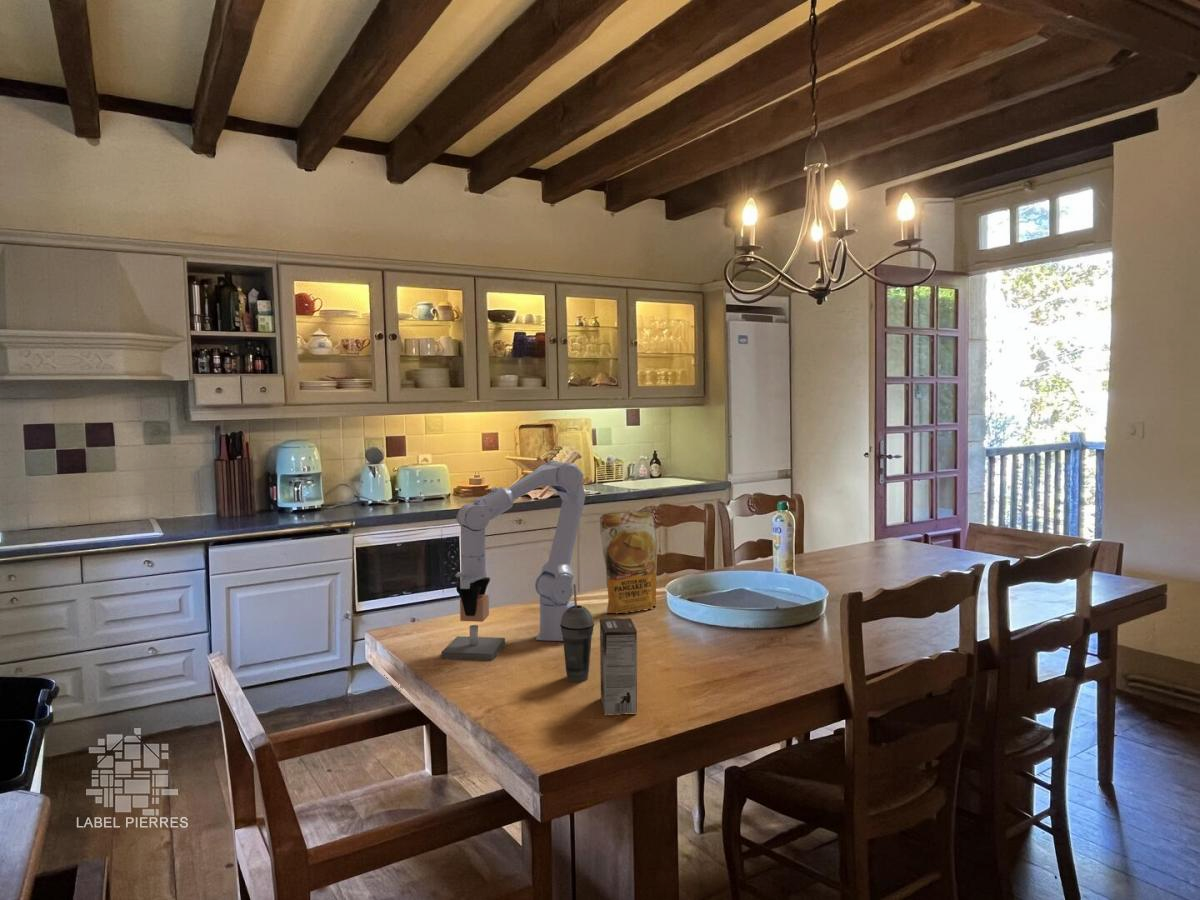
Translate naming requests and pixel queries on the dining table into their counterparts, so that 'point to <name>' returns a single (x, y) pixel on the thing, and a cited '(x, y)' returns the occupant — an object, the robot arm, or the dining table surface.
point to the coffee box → (618, 665)
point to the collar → (477, 610)
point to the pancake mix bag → (629, 560)
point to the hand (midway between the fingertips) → (473, 611)
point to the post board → (473, 646)
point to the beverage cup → (577, 640)
